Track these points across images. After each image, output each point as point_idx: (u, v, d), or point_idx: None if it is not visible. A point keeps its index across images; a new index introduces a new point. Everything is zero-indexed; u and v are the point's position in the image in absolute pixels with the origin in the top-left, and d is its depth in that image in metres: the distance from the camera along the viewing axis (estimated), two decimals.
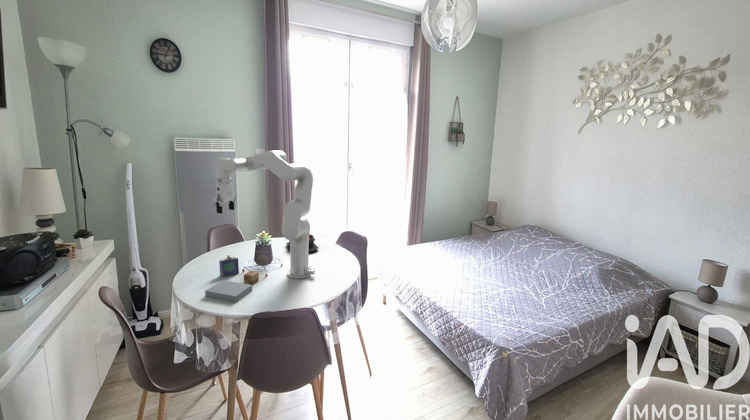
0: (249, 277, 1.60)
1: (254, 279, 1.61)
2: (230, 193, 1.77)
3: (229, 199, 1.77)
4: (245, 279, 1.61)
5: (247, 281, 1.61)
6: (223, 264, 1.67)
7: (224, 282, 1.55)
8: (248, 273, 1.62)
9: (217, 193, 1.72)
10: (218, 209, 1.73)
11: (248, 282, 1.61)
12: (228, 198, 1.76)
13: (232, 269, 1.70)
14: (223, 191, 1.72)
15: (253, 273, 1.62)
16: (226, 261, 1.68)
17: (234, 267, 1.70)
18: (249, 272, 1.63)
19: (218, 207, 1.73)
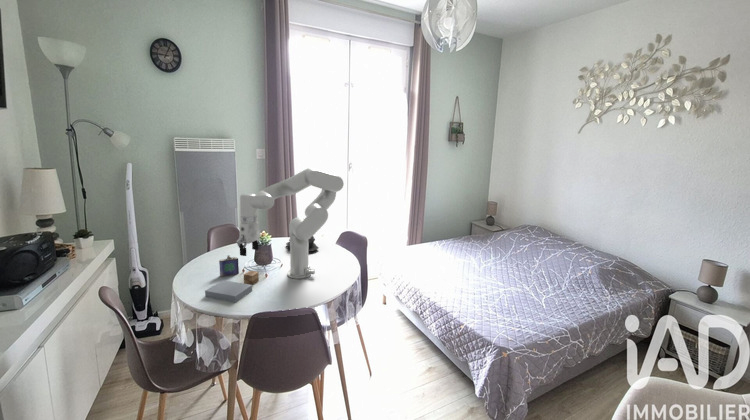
0: (249, 277, 1.60)
1: (254, 279, 1.61)
2: (255, 232, 1.58)
3: (254, 239, 1.58)
4: (245, 279, 1.61)
5: (247, 281, 1.61)
6: (223, 264, 1.67)
7: (224, 282, 1.55)
8: (248, 273, 1.62)
9: (241, 233, 1.53)
10: (242, 251, 1.54)
11: (248, 282, 1.61)
12: (253, 238, 1.57)
13: (232, 269, 1.70)
14: (248, 232, 1.53)
15: (253, 273, 1.62)
16: (226, 261, 1.68)
17: (234, 267, 1.70)
18: (249, 272, 1.63)
19: (242, 249, 1.53)
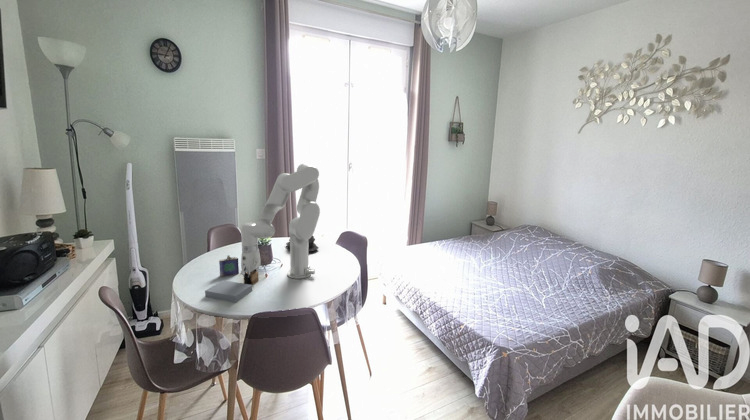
0: None
1: (253, 279, 1.61)
2: (256, 260, 1.61)
3: (255, 267, 1.61)
4: None
5: None
6: (223, 264, 1.67)
7: (224, 282, 1.55)
8: None
9: (243, 262, 1.56)
10: (246, 280, 1.59)
11: None
12: (254, 266, 1.60)
13: (232, 269, 1.70)
14: (249, 261, 1.56)
15: (253, 273, 1.62)
16: (226, 261, 1.68)
17: (234, 267, 1.70)
18: None
19: (246, 278, 1.59)
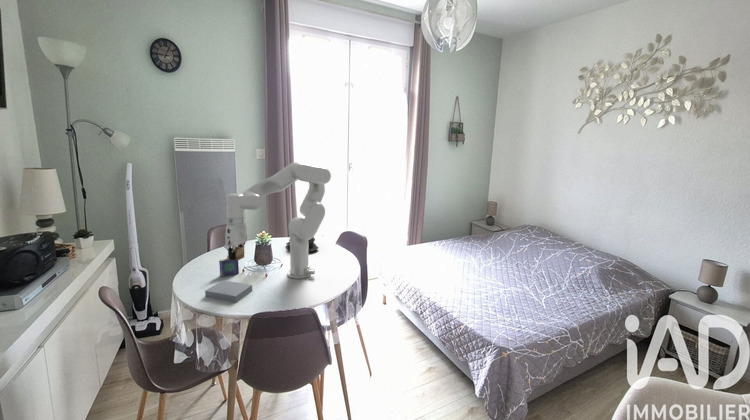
0: None
1: (238, 255, 1.50)
2: (242, 235, 1.50)
3: (241, 242, 1.50)
4: None
5: None
6: (223, 264, 1.67)
7: (224, 282, 1.55)
8: None
9: (227, 236, 1.45)
10: (231, 255, 1.48)
11: None
12: (240, 241, 1.49)
13: (232, 269, 1.70)
14: (234, 234, 1.45)
15: (238, 248, 1.51)
16: (226, 261, 1.68)
17: (234, 267, 1.70)
18: None
19: (231, 253, 1.48)
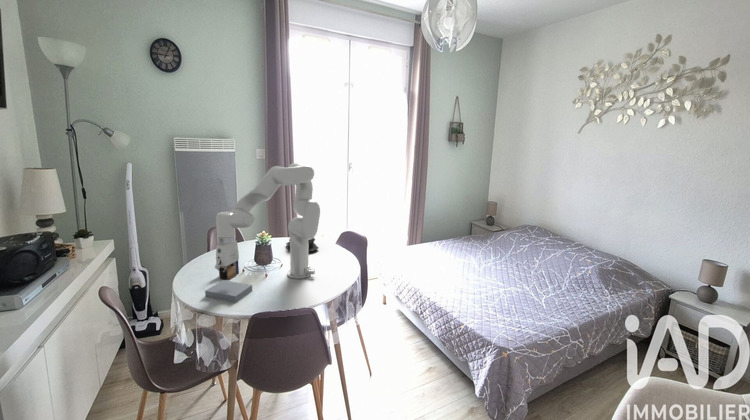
0: None
1: (230, 274, 1.46)
2: (233, 254, 1.47)
3: (232, 261, 1.46)
4: None
5: None
6: None
7: (224, 282, 1.55)
8: None
9: (218, 256, 1.42)
10: (222, 275, 1.44)
11: None
12: (231, 260, 1.45)
13: None
14: (225, 253, 1.41)
15: (230, 267, 1.47)
16: None
17: None
18: None
19: (222, 273, 1.44)
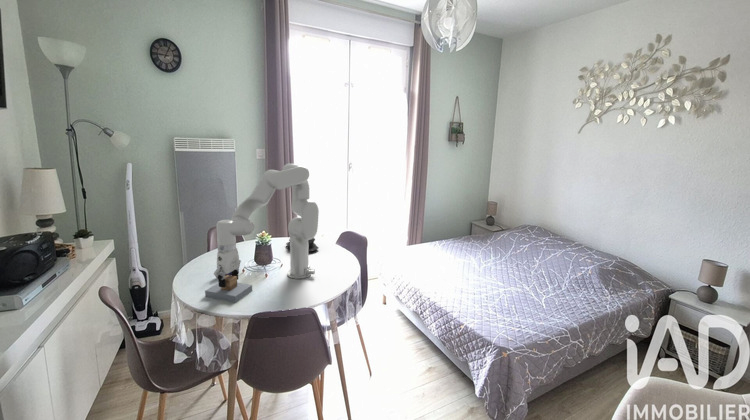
0: (226, 282, 1.47)
1: (231, 284, 1.48)
2: (234, 261, 1.47)
3: (233, 268, 1.47)
4: None
5: None
6: None
7: None
8: (225, 278, 1.48)
9: (218, 264, 1.42)
10: (220, 283, 1.44)
11: (225, 287, 1.47)
12: (232, 268, 1.46)
13: None
14: (225, 261, 1.42)
15: (231, 278, 1.49)
16: None
17: None
18: (227, 276, 1.50)
19: (220, 280, 1.44)
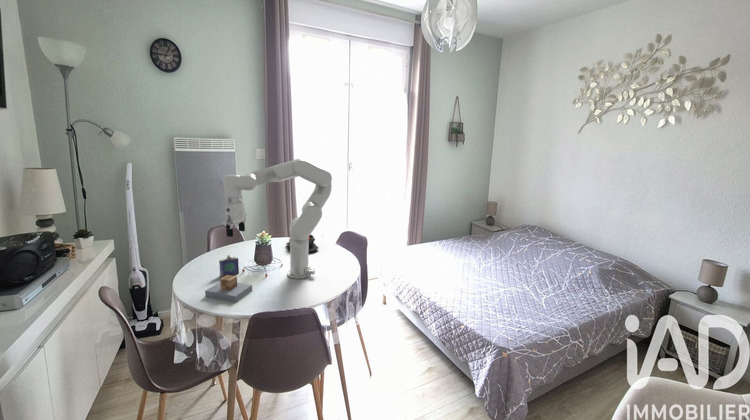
0: (226, 282, 1.47)
1: (231, 284, 1.48)
2: (241, 213, 1.59)
3: (240, 220, 1.59)
4: (221, 284, 1.47)
5: (225, 286, 1.47)
6: (223, 264, 1.67)
7: None
8: (225, 278, 1.48)
9: (227, 214, 1.54)
10: (228, 232, 1.55)
11: (225, 287, 1.47)
12: (239, 219, 1.58)
13: (232, 269, 1.70)
14: (233, 212, 1.54)
15: (231, 278, 1.49)
16: (226, 261, 1.68)
17: (234, 267, 1.70)
18: (227, 276, 1.50)
19: (228, 230, 1.55)
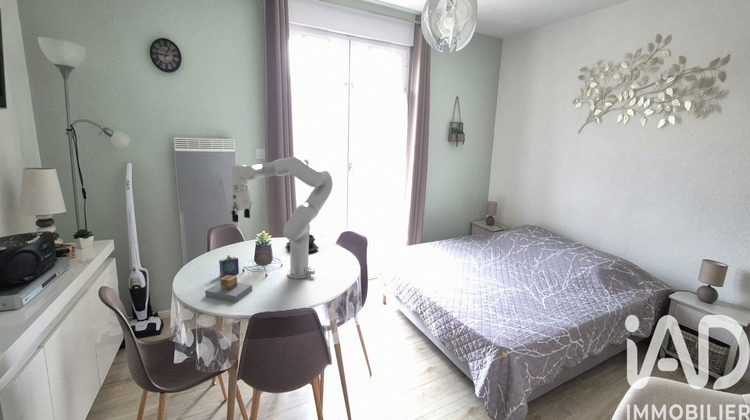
0: (226, 282, 1.47)
1: (231, 284, 1.48)
2: (246, 201, 1.71)
3: (245, 207, 1.71)
4: (221, 284, 1.47)
5: (225, 286, 1.47)
6: (223, 264, 1.67)
7: None
8: (225, 278, 1.48)
9: (233, 201, 1.66)
10: (234, 218, 1.67)
11: (225, 287, 1.47)
12: (244, 206, 1.70)
13: (232, 269, 1.70)
14: (239, 199, 1.66)
15: (231, 278, 1.49)
16: (226, 261, 1.68)
17: (234, 267, 1.70)
18: (227, 276, 1.50)
19: (234, 215, 1.67)
